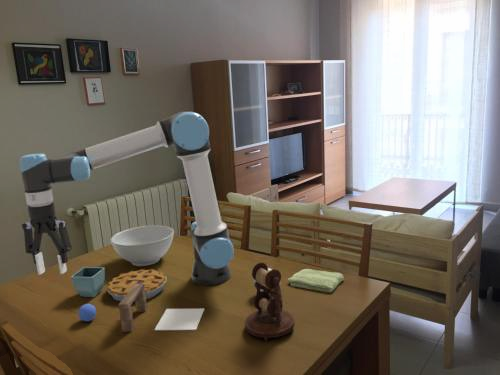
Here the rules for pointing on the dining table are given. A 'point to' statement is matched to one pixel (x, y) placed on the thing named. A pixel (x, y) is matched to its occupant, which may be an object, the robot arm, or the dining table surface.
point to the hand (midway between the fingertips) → (52, 272)
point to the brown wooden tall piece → (268, 305)
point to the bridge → (125, 306)
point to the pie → (126, 281)
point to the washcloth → (316, 280)
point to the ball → (87, 312)
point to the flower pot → (89, 281)
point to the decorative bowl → (143, 244)
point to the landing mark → (180, 319)
